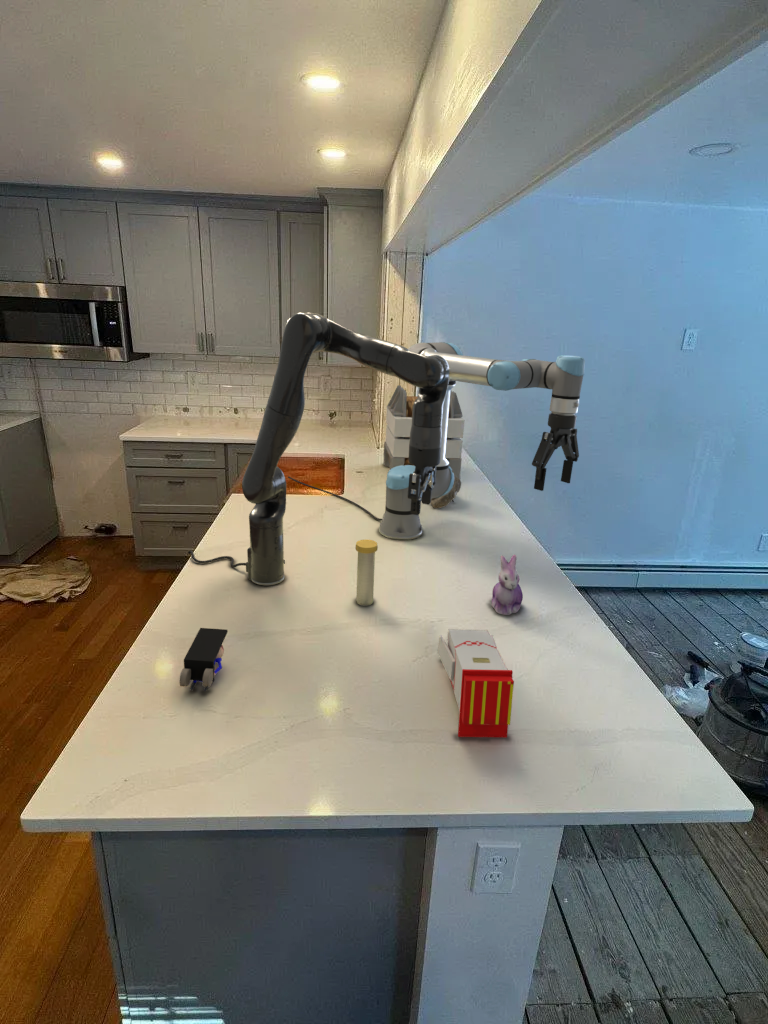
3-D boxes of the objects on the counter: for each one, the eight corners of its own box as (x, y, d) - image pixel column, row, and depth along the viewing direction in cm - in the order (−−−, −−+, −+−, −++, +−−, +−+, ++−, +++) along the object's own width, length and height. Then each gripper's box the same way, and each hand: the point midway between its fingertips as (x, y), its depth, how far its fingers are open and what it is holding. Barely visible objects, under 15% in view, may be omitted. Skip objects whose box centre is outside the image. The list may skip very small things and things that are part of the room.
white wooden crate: (382, 463, 289) (386, 382, 275) (445, 464, 293) (451, 384, 279) (390, 482, 257) (394, 392, 243) (460, 483, 261) (468, 394, 247)
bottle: (354, 604, 151) (356, 547, 146) (358, 596, 155) (359, 540, 150) (371, 606, 151) (373, 549, 145) (374, 598, 155) (376, 542, 149)
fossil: (425, 482, 245) (454, 464, 240) (438, 499, 248) (467, 481, 243) (424, 504, 225) (455, 484, 220) (438, 522, 228) (469, 503, 223)
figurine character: (214, 702, 114) (231, 653, 127) (210, 673, 110) (228, 625, 124) (180, 702, 114) (200, 652, 127) (175, 673, 110) (197, 625, 124)
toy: (488, 613, 130) (523, 677, 101) (484, 667, 133) (517, 744, 104) (435, 612, 130) (455, 676, 101) (432, 666, 133) (451, 743, 103)
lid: (353, 552, 146) (353, 546, 145) (358, 544, 151) (358, 538, 150) (375, 554, 145) (375, 548, 144) (379, 546, 150) (379, 540, 149)
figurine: (504, 619, 147) (511, 567, 142) (480, 601, 155) (486, 551, 150) (532, 612, 151) (540, 561, 146) (508, 595, 159) (514, 546, 154)
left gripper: (419, 436, 140) (415, 498, 146) (399, 447, 127) (396, 515, 133) (449, 439, 138) (443, 503, 143) (431, 452, 125) (426, 520, 131)
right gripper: (548, 419, 148) (537, 496, 155) (598, 411, 163) (586, 482, 171) (525, 414, 153) (515, 489, 160) (575, 407, 169) (564, 476, 176)
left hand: (420, 508), depth 138 cm, fingers open, 8 cm apart
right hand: (552, 485), depth 166 cm, fingers open, 13 cm apart
